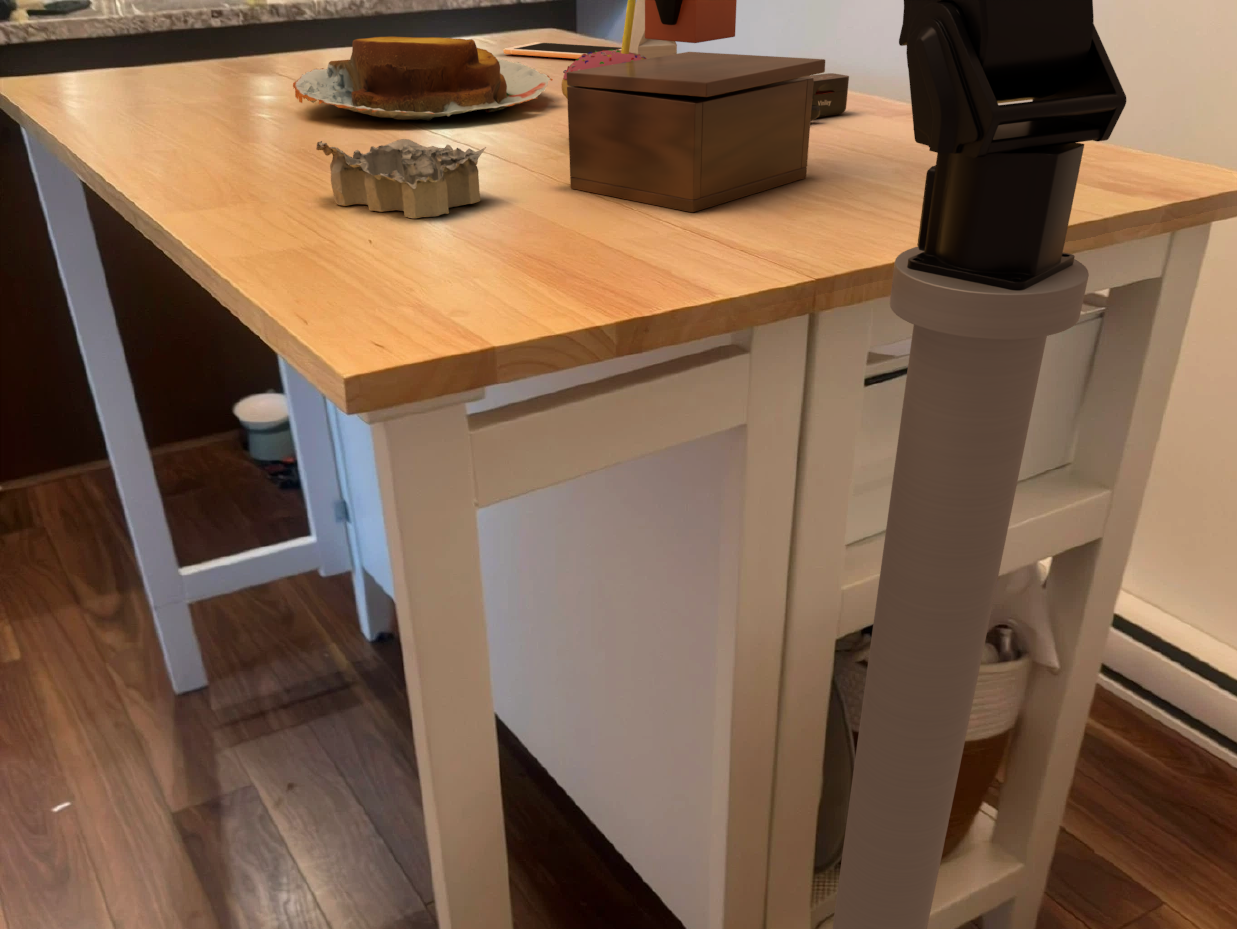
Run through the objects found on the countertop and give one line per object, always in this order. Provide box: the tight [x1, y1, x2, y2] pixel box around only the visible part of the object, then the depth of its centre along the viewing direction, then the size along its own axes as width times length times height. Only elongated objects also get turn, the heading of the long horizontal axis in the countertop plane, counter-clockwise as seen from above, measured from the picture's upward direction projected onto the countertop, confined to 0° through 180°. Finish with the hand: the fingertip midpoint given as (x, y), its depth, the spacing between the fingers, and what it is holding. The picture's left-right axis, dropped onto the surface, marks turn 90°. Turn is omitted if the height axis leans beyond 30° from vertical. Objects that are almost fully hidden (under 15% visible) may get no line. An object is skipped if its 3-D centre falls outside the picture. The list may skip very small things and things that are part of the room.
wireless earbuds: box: [805, 72, 850, 121], centre depth 106 cm, size 5×7×3 cm, turn 123°
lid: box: [567, 51, 826, 97], centre depth 81 cm, size 12×14×1 cm
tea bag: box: [621, 0, 678, 59], centre depth 108 cm, size 4×7×10 cm, turn 12°
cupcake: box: [561, 0, 647, 99], centre depth 95 cm, size 9×8×12 cm
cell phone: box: [503, 41, 622, 60], centre depth 145 cm, size 8×16×1 cm, turn 59°
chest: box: [566, 77, 814, 213], centre depth 83 cm, size 12×14×7 cm
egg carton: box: [316, 138, 487, 219], centre depth 80 cm, size 11×8×4 cm
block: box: [645, 0, 738, 44], centre depth 78 cm, size 4×4×4 cm
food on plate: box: [292, 36, 555, 122], centre depth 113 cm, size 25×25×7 cm
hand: (691, 21), depth 79 cm, fingers closed on block, 4 cm apart
